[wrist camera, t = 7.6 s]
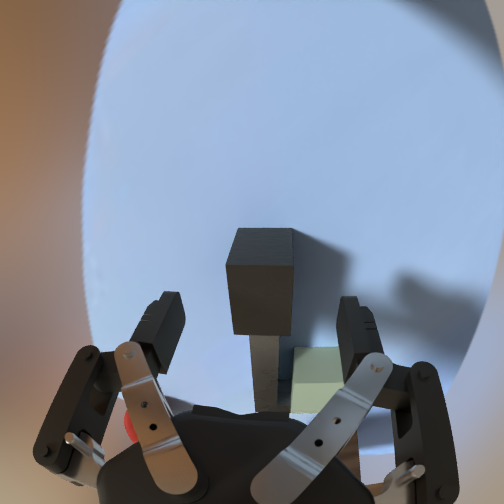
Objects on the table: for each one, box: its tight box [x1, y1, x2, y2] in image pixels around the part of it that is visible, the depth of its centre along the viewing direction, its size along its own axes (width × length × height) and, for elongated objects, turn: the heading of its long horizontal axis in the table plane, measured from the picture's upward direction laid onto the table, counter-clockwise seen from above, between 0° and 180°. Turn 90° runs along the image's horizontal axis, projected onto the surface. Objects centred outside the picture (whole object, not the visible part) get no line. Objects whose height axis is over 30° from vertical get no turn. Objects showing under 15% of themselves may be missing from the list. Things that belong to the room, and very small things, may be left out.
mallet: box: [226, 228, 294, 413], centre depth 20 cm, size 18×12×4 cm
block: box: [291, 346, 345, 413], centre depth 23 cm, size 5×5×4 cm
